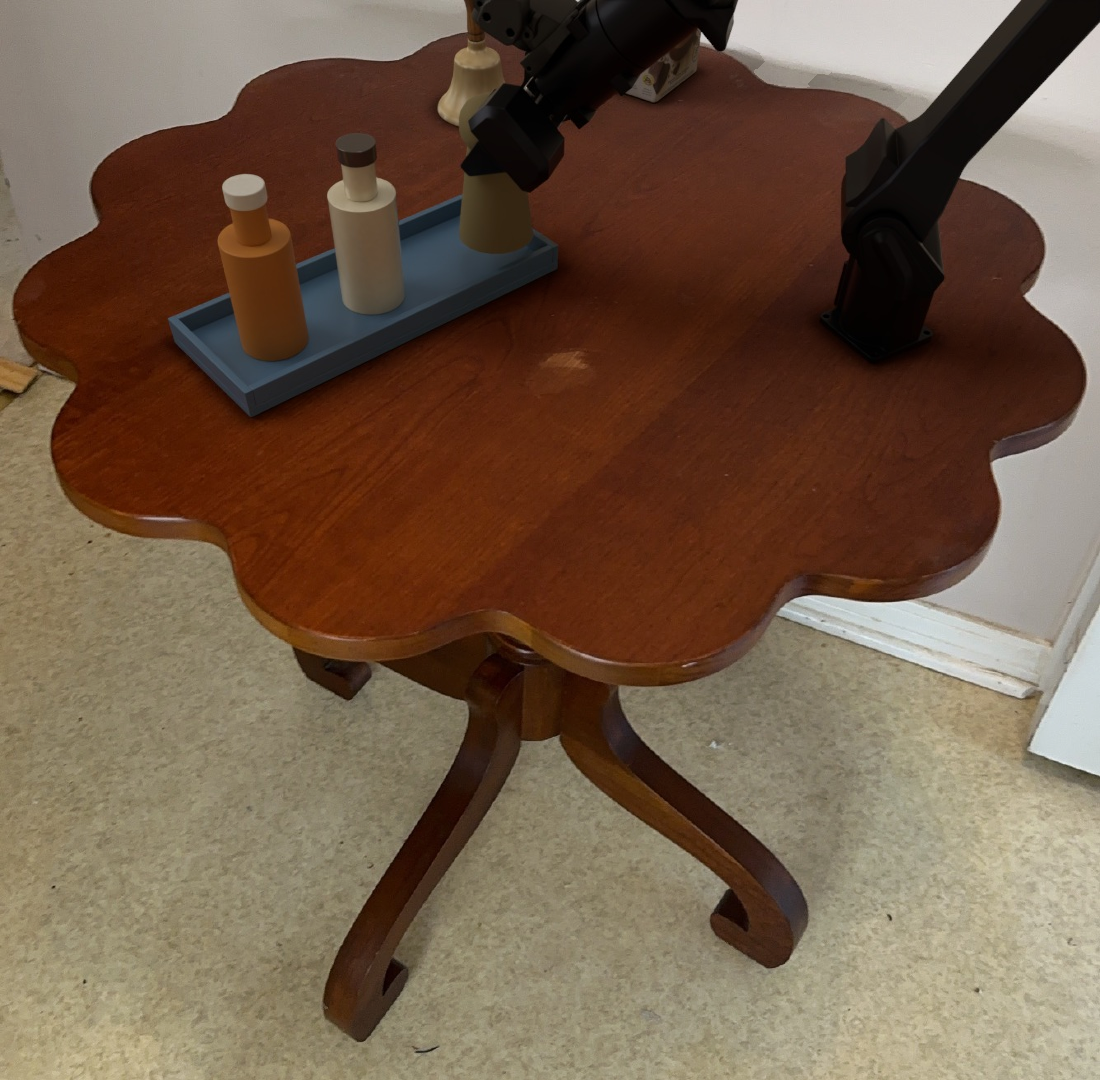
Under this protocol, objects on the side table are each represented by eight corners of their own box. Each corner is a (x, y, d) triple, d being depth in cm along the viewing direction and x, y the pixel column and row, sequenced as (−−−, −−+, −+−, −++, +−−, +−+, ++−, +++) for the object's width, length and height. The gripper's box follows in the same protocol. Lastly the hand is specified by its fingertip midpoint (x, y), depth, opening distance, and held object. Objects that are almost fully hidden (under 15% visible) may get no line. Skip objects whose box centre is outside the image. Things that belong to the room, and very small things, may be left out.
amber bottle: (319, 348, 82) (292, 192, 73) (256, 369, 80) (220, 212, 71) (293, 313, 85) (265, 158, 75) (232, 333, 83) (194, 176, 74)
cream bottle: (416, 303, 86) (403, 149, 77) (357, 322, 84) (337, 167, 75) (388, 271, 89) (373, 119, 79) (331, 288, 87) (308, 135, 78)
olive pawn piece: (547, 241, 87) (549, 108, 79) (480, 262, 85) (476, 128, 77) (510, 205, 91) (509, 75, 83) (445, 225, 89) (437, 93, 81)
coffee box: (657, 105, 111) (673, -67, 99) (603, 87, 113) (612, -83, 101) (699, 71, 116) (720, -96, 104) (646, 56, 118) (661, -110, 106)
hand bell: (459, 136, 106) (452, -39, 94) (424, 100, 110) (412, -71, 99) (535, 118, 108) (537, -54, 97) (497, 83, 113) (494, -85, 101)
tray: (474, 212, 97) (473, 188, 95) (557, 269, 91) (558, 245, 89) (174, 342, 84) (167, 318, 82) (250, 418, 78) (244, 393, 76)
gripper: (590, -121, 76) (451, 18, 86) (494, -21, 64) (347, 126, 75) (688, 13, 80) (544, 130, 91) (615, 130, 68) (459, 248, 79)
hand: (477, 154), depth 84 cm, fingers closed on olive pawn piece, 5 cm apart
